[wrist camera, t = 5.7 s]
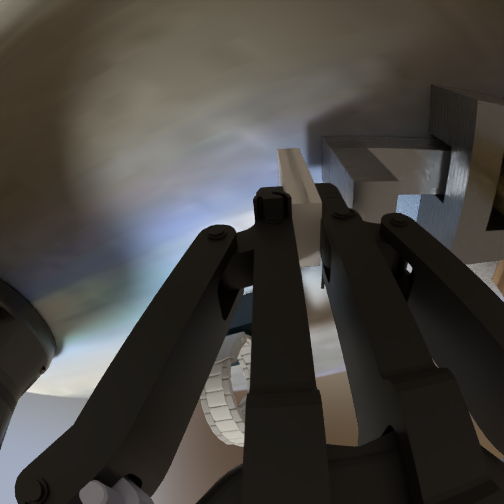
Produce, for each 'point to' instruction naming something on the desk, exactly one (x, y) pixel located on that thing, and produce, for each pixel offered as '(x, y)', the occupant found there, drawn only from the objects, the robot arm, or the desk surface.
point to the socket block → (467, 175)
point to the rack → (499, 276)
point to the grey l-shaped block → (384, 170)
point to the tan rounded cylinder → (500, 191)
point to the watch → (231, 353)
